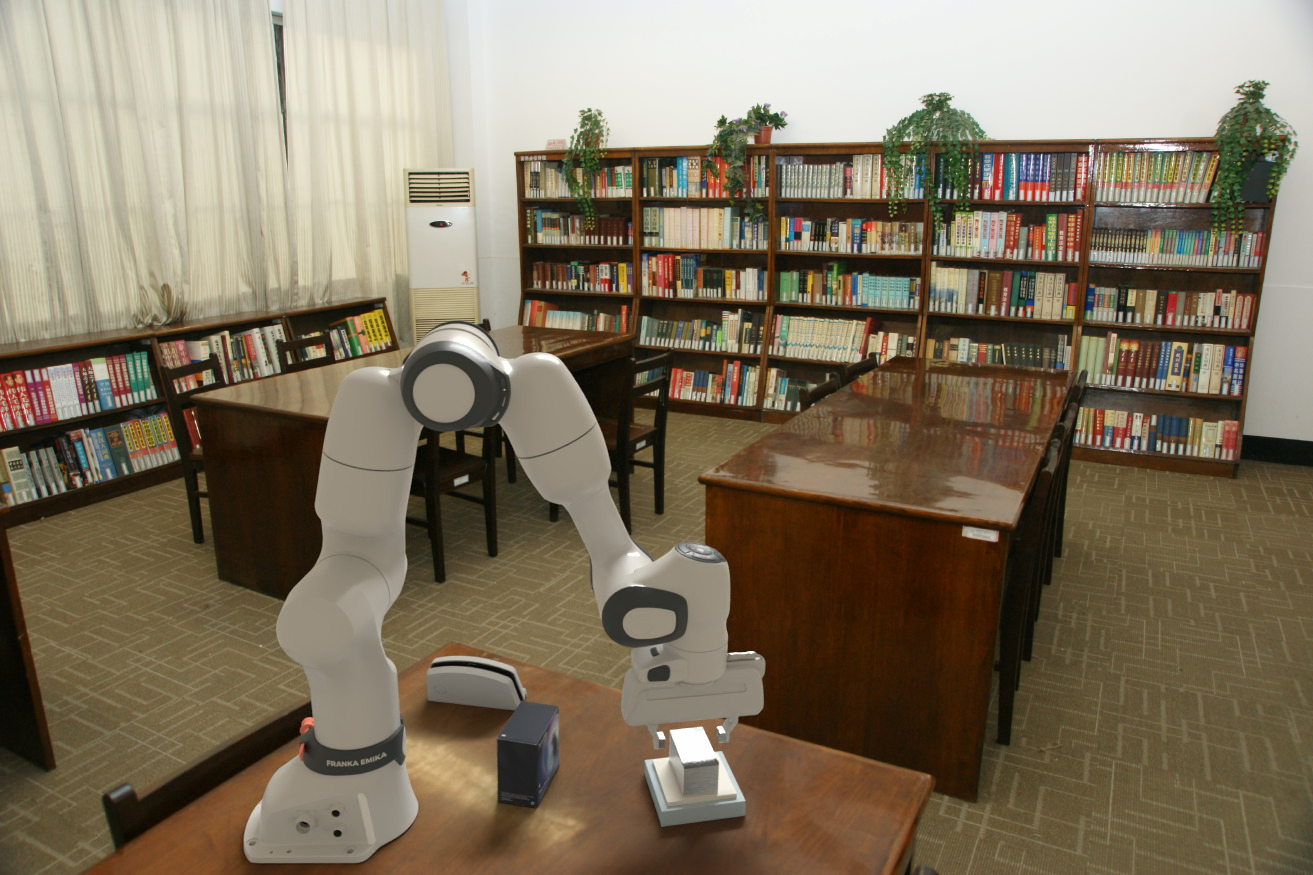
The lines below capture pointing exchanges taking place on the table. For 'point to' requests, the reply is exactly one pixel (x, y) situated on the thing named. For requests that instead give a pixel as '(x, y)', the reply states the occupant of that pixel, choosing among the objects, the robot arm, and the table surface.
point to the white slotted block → (474, 682)
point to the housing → (693, 762)
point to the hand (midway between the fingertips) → (690, 743)
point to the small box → (528, 754)
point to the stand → (692, 808)
